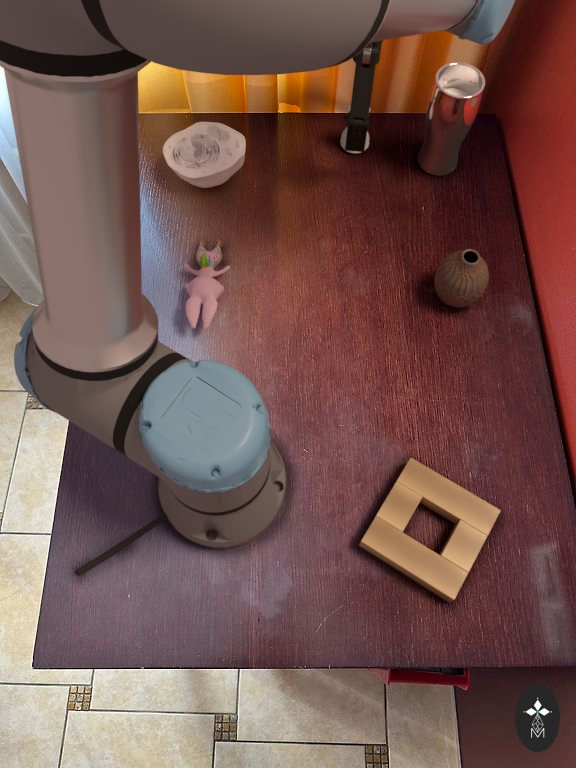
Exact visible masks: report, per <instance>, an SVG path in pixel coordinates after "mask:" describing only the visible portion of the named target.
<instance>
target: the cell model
mask: <svg viewBox="0 0 576 768" xmlns="http://www.w3.org/2000/svg"><path fill="white" fill-rule="evenodd" d="M246 143H247V142H246V138H245V136H244V135H243V134H242V133H241V132H239V131H237V130H235V129H234V128H232V127H230V126H228V125H226V124H225V123H221V122H213V121H211V122H210V121H198V122H195V123H193V124H192V125H189V126H188V127H186V128H185V129H183V130H179V131H178V132H175V133H174V134H171V135H170V136H169V138H167V140H166V141H165V142H164V144H163V146H162V154H163V157H164V160H165V162H166V164H167V165H168V167H169V168H171V170H172V171H173V173H174V174H175V175H176V176H178V177H179V178H180V179H182V180H183V181H184V182H187V183H189V184H191V186H195V187H198V188H202V189H208V188H213V187H217V186H221V185H222V184H225V183H226V182H227V181H229V180H230V179H231V178H232V176H234V175H235V174H236V173H237V172H238V171H239V170H240V169H241V168H242V167H243V166H244V163H245V158H246V147H247V144H246Z"/></svg>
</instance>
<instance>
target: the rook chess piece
mask: <svg viewBox="0 0 576 768" xmlns="http://www.w3.org/2000/svg"><path fill="white" fill-rule="evenodd" d="M350 110H351V102H350V103H349V104H348V106H347V112H349V111H350ZM370 112H371V109H370V110H369V113H370ZM347 128H348V126H346V127H345V128H344V130H343V131H342V133H341V136H340V142H339V143H340V146H341V148H342V149H343V150H344V151H346V152H347V153H348V154H353V155H358V154H361V153H362V152H358V151H349V150H345V146H346V137H347ZM369 146H370V134H369V132H368V131H367V135H366V142H365V149H364V152H365V151H366V150H367V149H369Z"/></svg>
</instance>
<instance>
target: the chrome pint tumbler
mask: <svg viewBox="0 0 576 768" xmlns="http://www.w3.org/2000/svg"><path fill="white" fill-rule="evenodd" d="M485 86H486V78H485V76H484V74H483V72H481V70H480V69H478V67H476V66H475V65H472V64H469V63H466V62H461V61H460V62H459V61H457V62H456V61H455V62H450V63H447V64H444V65H442V66H441V67H440V68H439V69H438V70H437V72H436V73H435V77H434V80H433V83H432V86H431V89H430V92H429V96H428V99H427V104H426V109H425V110H426V111H425V127H424V128H425V129H424V140H423V143H422V144H421V146H420V149H419V151H418V153H417V156H416V161H417V164H418V166H419V168H420V169H421V170H422V171H424V172H425V173H427V174H430V175H432V176H440V177H441V176H446V175H449V174H451V173H452V172H453V171H454V170H455V169H456V168H457V166H458V162H459V152H460V147H461V145H462V143H463V142H464V140H465V138H466V136H467V135H468V133H469V131H470V130H471V128H472V126H473V124H474V122H475V120H476V117H477V115H478V112H479V109H480V106H481V102H482V99H483V93H484V89H485Z"/></svg>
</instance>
